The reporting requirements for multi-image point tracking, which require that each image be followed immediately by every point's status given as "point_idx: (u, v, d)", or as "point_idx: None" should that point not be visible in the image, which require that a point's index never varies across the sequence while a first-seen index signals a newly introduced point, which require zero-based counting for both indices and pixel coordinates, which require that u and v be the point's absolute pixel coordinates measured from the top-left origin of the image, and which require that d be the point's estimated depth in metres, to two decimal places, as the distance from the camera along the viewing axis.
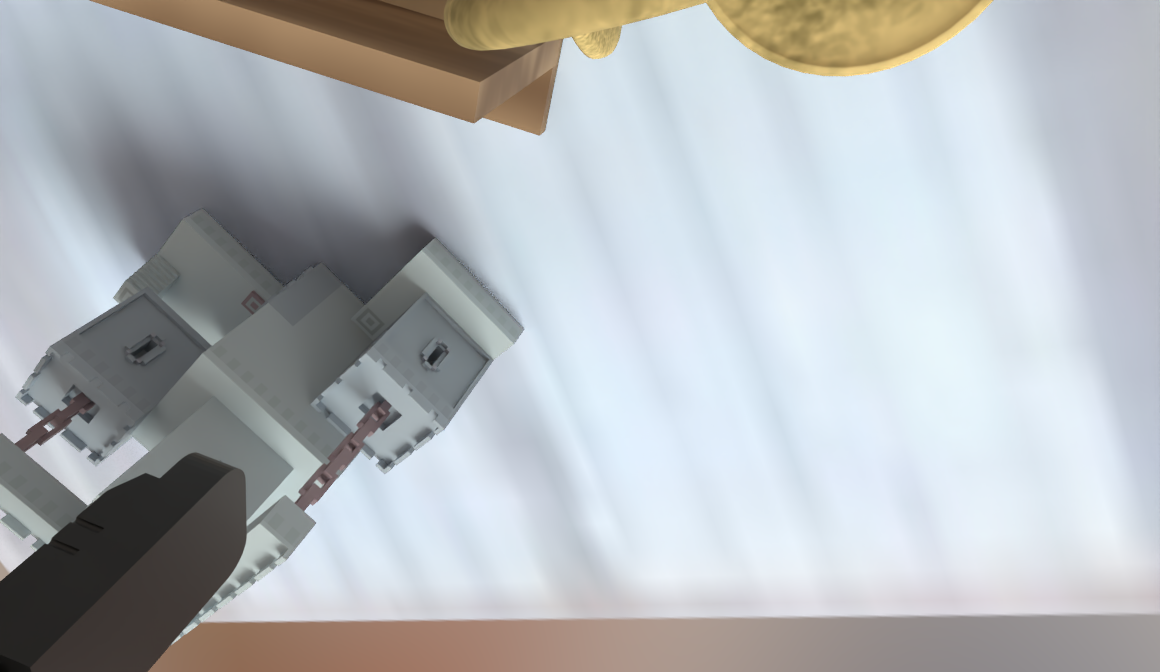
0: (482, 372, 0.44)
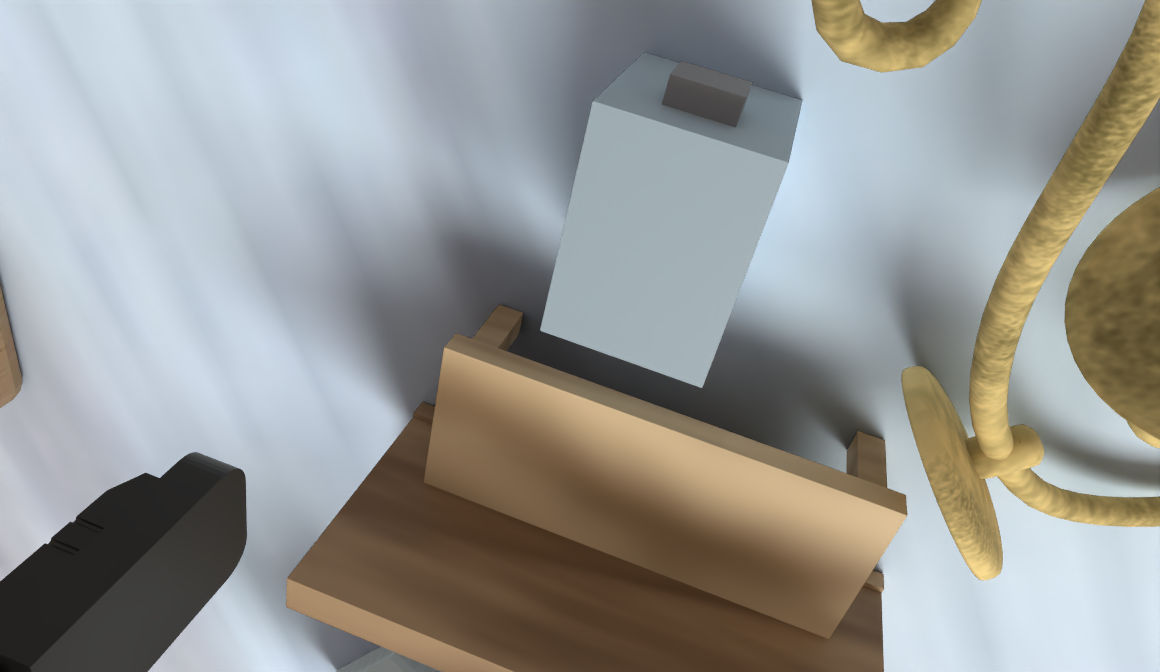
0: None
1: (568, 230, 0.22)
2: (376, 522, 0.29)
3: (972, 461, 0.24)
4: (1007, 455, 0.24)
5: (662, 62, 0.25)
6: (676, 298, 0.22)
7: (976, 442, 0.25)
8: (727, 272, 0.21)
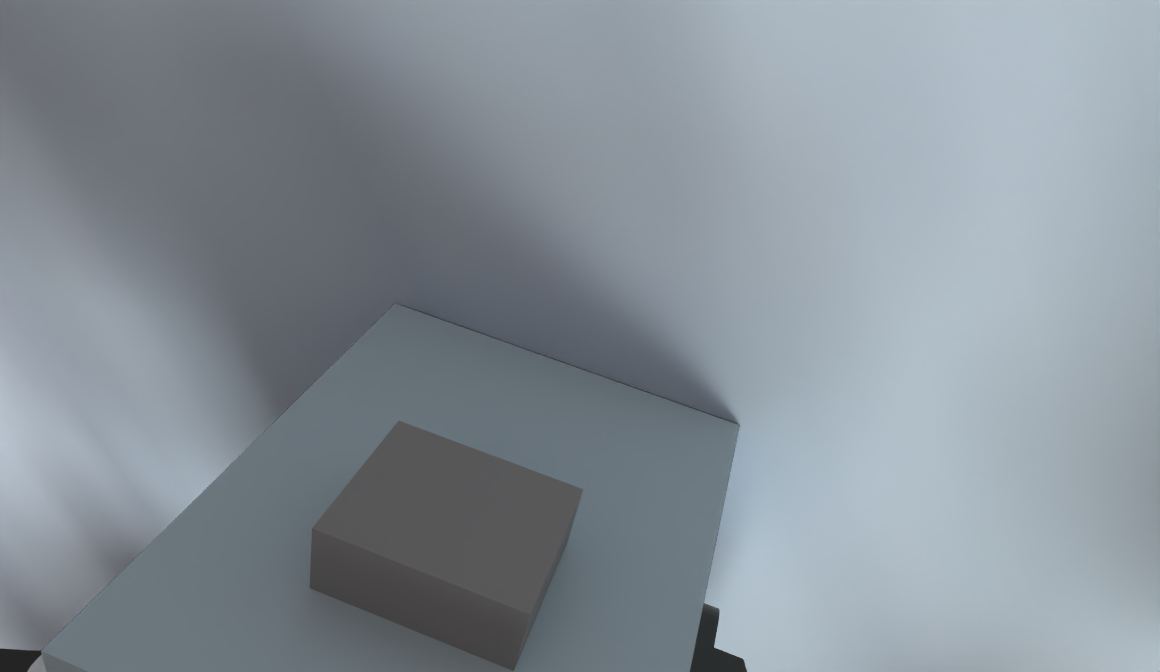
0: None
1: None
2: None
3: None
4: None
5: (420, 342, 0.11)
6: None
7: None
8: None
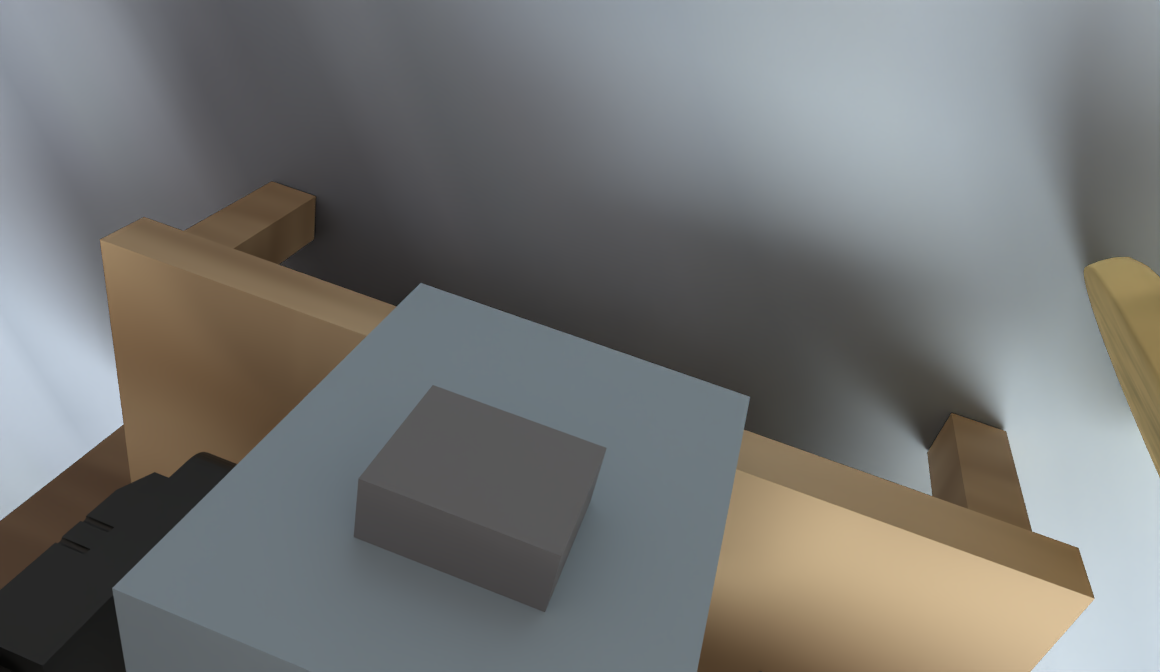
0: None
1: None
2: None
3: None
4: None
5: (446, 318, 0.11)
6: None
7: None
8: None
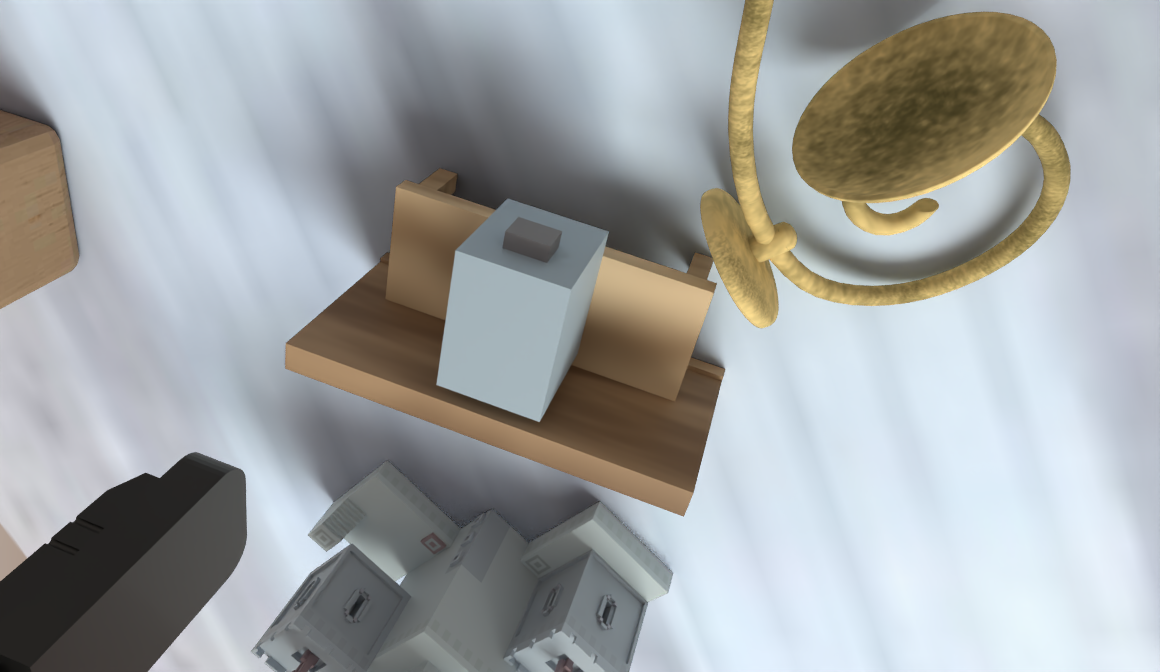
0: (642, 618, 0.51)
1: (448, 324, 0.35)
2: (349, 318, 0.41)
3: (750, 247, 0.36)
4: (770, 240, 0.36)
5: (516, 207, 0.37)
6: (517, 366, 0.35)
7: (754, 235, 0.36)
8: (545, 351, 0.34)
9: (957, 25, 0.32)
